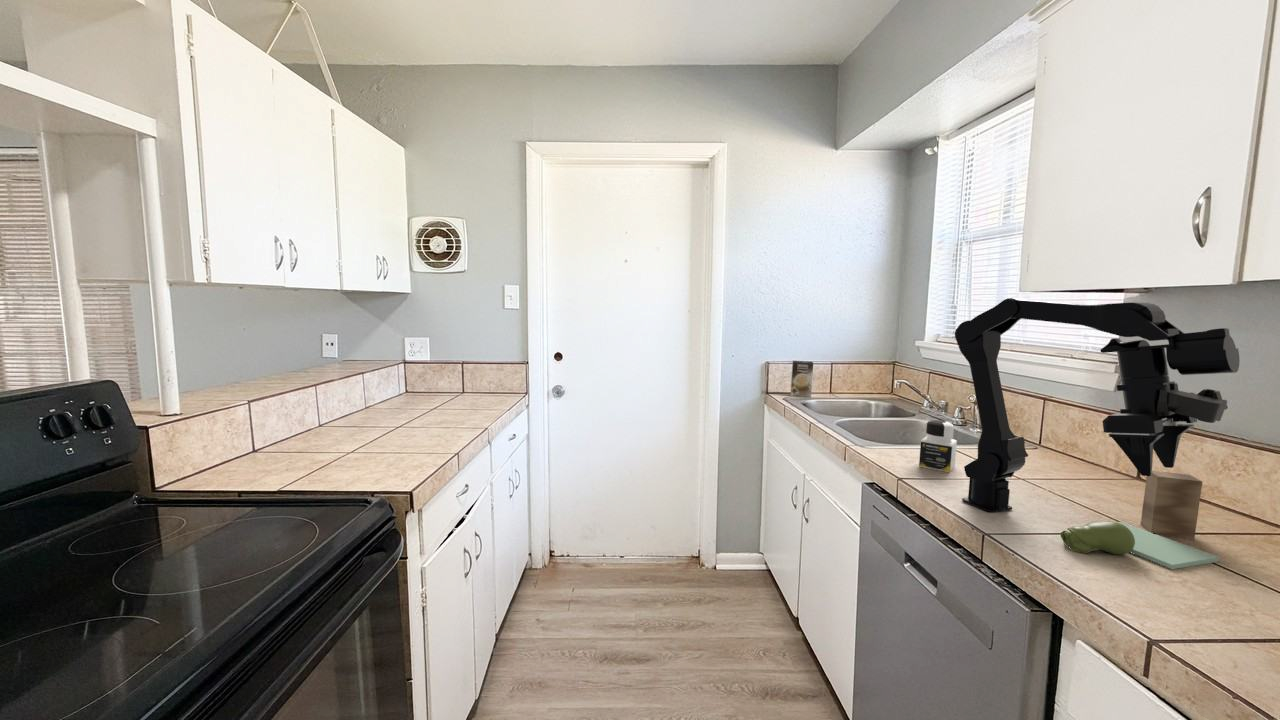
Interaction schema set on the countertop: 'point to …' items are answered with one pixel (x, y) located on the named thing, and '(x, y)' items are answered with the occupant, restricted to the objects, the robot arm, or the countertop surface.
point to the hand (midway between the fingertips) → (1157, 471)
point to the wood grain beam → (1171, 504)
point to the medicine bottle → (938, 446)
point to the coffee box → (801, 379)
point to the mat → (1167, 550)
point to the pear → (1099, 537)
